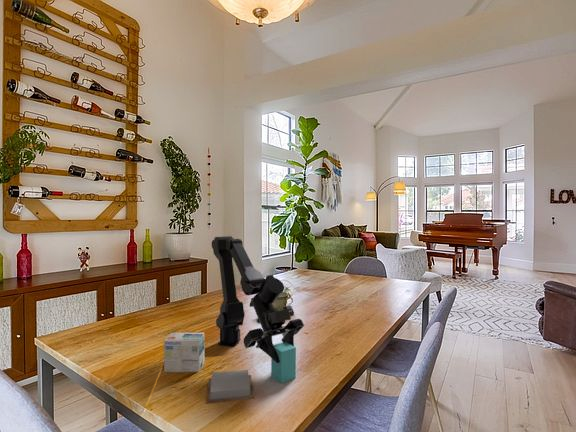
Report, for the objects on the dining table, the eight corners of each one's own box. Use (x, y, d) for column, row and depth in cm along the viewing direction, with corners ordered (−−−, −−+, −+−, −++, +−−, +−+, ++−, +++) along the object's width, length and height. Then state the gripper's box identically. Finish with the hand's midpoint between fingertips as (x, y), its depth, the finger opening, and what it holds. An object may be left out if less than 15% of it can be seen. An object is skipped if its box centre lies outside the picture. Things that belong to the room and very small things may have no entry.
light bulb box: (205, 365, 104) (205, 331, 103) (200, 376, 97) (200, 340, 97) (170, 365, 103) (170, 331, 103) (163, 376, 96) (163, 340, 96)
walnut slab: (208, 385, 93) (208, 378, 93) (251, 381, 95) (251, 374, 95) (206, 410, 81) (206, 402, 81) (254, 406, 84) (254, 398, 84)
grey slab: (212, 379, 93) (212, 372, 93) (247, 376, 94) (247, 369, 94) (210, 399, 83) (210, 391, 83) (250, 396, 85) (250, 388, 85)
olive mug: (262, 316, 151) (262, 294, 151) (273, 310, 160) (273, 290, 160) (287, 321, 145) (287, 298, 145) (297, 314, 154) (297, 293, 154)
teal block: (271, 380, 95) (271, 345, 95) (285, 375, 98) (285, 341, 98) (281, 387, 91) (281, 351, 91) (295, 382, 94) (295, 347, 94)
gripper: (248, 302, 92) (270, 356, 83) (300, 292, 103) (324, 339, 94) (235, 322, 98) (254, 374, 89) (285, 311, 109) (306, 356, 101)
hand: (286, 360), depth 93 cm, fingers closed on teal block, 5 cm apart
